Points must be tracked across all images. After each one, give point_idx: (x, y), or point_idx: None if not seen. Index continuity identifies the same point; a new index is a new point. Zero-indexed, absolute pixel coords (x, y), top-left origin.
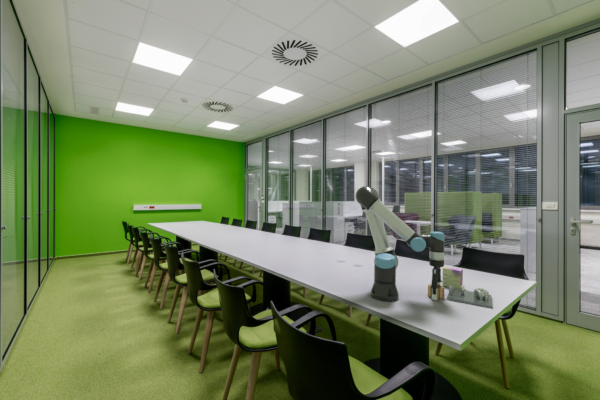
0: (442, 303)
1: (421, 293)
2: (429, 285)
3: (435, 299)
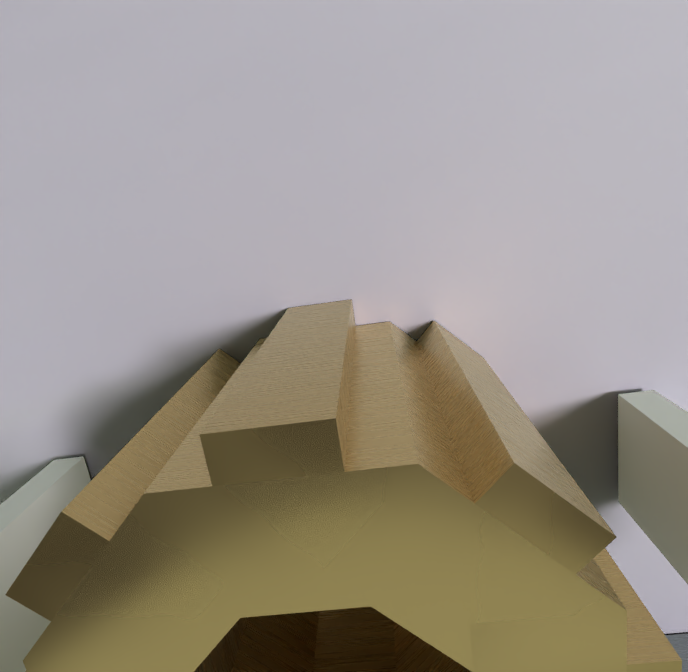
0: None
1: (341, 111)
2: (202, 500)
3: None
